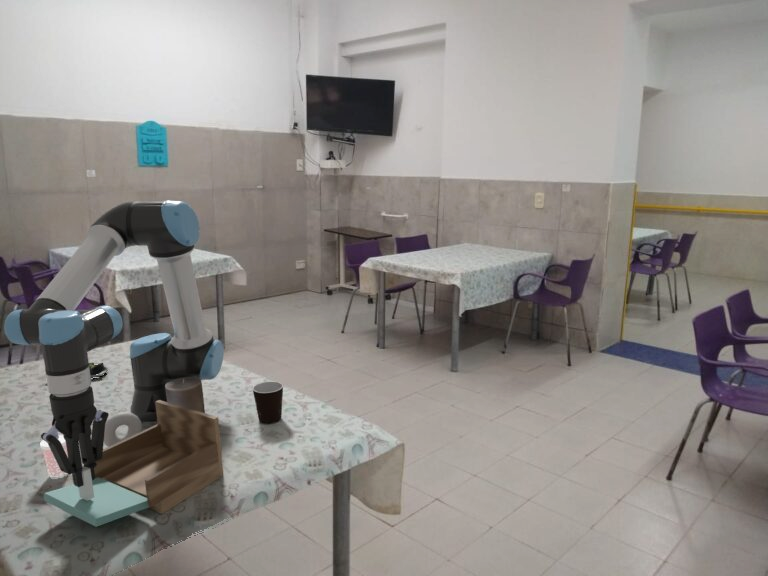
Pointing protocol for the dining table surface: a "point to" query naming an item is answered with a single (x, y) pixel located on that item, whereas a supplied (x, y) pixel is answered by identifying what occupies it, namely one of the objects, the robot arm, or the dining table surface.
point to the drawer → (166, 457)
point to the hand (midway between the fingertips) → (87, 497)
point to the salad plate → (97, 369)
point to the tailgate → (97, 502)
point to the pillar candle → (186, 393)
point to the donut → (117, 421)
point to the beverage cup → (52, 457)
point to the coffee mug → (268, 401)
